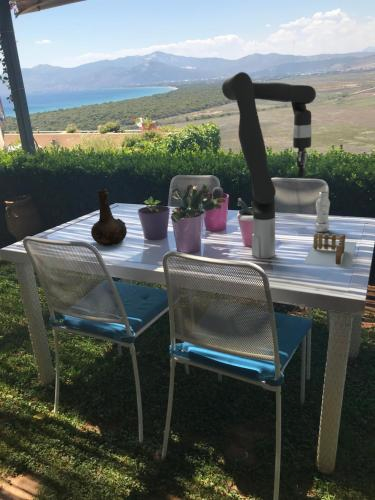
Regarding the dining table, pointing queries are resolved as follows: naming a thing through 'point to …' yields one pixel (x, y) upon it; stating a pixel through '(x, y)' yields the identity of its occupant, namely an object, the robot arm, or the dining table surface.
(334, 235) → the fence gate
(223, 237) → the dining table surface
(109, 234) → the brown long-necked vase
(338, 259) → the fence fixed
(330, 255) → the card
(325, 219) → the plastic bottle
